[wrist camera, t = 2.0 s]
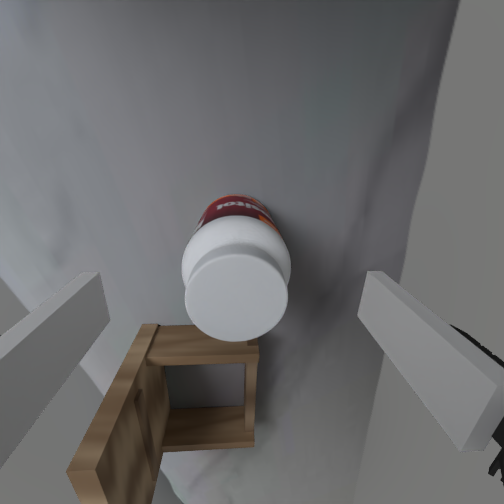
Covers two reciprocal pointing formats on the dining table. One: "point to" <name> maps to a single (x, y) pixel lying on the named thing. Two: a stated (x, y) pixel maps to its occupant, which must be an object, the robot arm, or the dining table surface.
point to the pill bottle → (236, 270)
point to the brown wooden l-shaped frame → (158, 415)
